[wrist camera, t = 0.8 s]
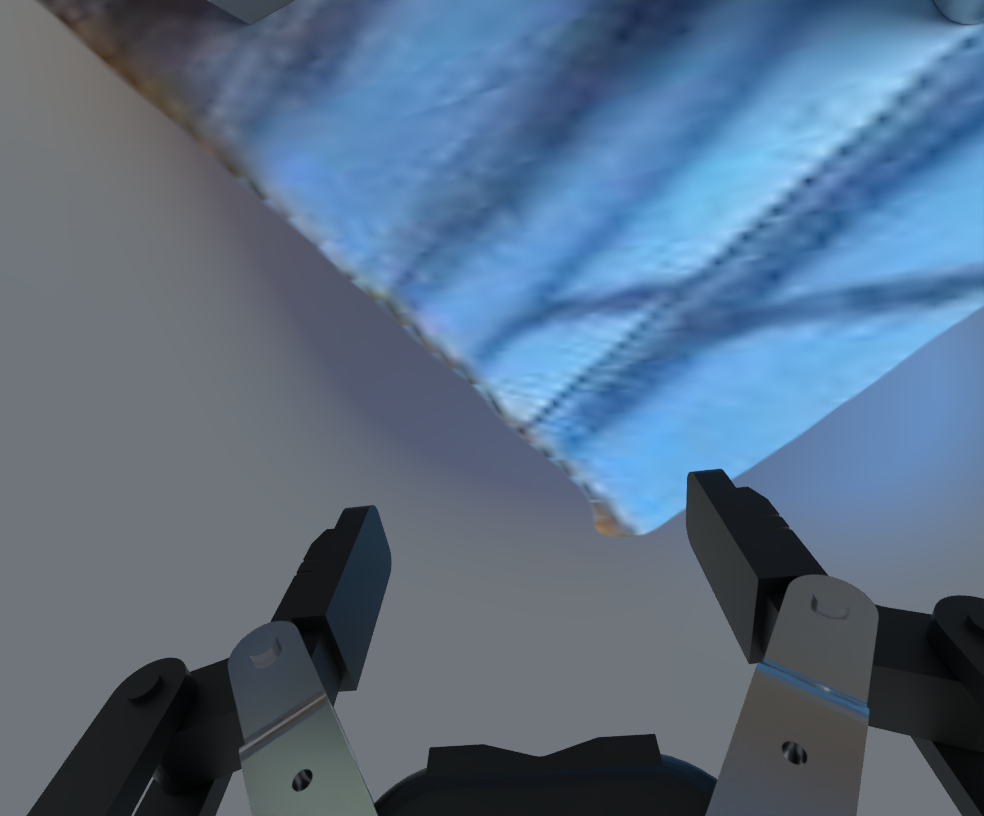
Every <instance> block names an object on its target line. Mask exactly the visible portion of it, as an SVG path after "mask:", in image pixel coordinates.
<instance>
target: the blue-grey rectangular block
mask: <svg viewBox="0 0 984 816" xmlns="http://www.w3.org/2000/svg"><path fill="white" fill-rule="evenodd" d="M207 1H209V2H211V3H212V4H214V5H216V6H218V7H219V8H221V9H223V10H225V11H226V12H228V13H230V14H232V15H233V16H235V17H237V18H239V19H240V20H242V21H244V22H246V23H247V24H249V25H251V24H253V23H255V22H257V21H258V20H260V19H262V18H264V17H265V16H267V15H269V14H271V13H273V12H274V11H276V10H278V9H280V8H282V7H283V6H285V5H287V4H289V3H291V2H292V1H294V0H207Z"/></svg>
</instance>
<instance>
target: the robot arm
mask: <svg viewBox="0 0 984 816" xmlns="http://www.w3.org/2000/svg"><path fill="white" fill-rule="evenodd" d="M934 1H935V4H936V5H937V7H938V8H939V10H940V11H941V12H942V14H944V15H945V16H946V17H948V18H949V19H951V20H952V21H955V22H958V23H961V24H980V23H984V0H934ZM686 527H687V534H688V538H689V541H690V544H691V547H692V549H693V551H694V553H695V555H696V557H697V559H698V561H699V563H700V565H701V567H702V569H703V571H704V573H705V576H706V577H707V580H708V582H709V584H710V586H711V588H712V590H713V592H714V594H715V596H716V598H717V600H718V602H719V604H720V606H721V608H722V610H723V612H724V614H725V616H726V618H727V620H728V622H729V624H730V626H731V628H732V631H733V632H734V635H735V637H736V639H737V641H738V643H739V645H740V647H741V649H742V651H743V653H744V655H745V657H746V659H747V661H748V663H749V664H753V663H758V664H757V666H756V669H755V672H754V674H753V677H752V681H751V684H750V686H749V689H748V692H747V695H746V698H745V701H744V704H743V707H742V710H741V713H740V716H739V719H738V721H737V724H736V727H735V730H734V733H733V736H732V739H731V742H730V745H729V748H728V751H727V754H726V757H725V760H724V763H723V765H722V768H721V772H720V774H719V777H718V780H717V779H716V778H714V777H713V776H711V775H709V774H708V773H706V772H705V771H703V770H702V769H700V768H698V767H696V766H694V765H692V764H690V763H687V762H685V761H682V760H679V759H676V758H674V757H671V756H667V755H663V754H660V751H659V748H658V744H657V740H656V736H655V734H646V735H630V736H613V737H598V738H595V739H592V740H589V741H586V742H583V743H581V744H578V745H575V746H572V747H570V748H566V749H564V750H561V751H558V752H555V753H552V754H549V755H547V756H543V757H542V756H541V757H538V756H532V755H528V754H523V753H519V752H515V751H510V750H506V749H501V748H497V747H493V746H488V745H483V744H481V745H464V746H448V747H431V748H430V749H429V757H428V763H427V768H425V769H422V770H420V771H418V772H416V773H414V774H412V775H410V776H408V777H406V778H405V779H403V780H402V781H400V782H399V783H397V784H396V785H394V786H393V787H392V788H391V789H389V790H388V791H387V792H386V793H385V794H383V795H382V796H381V797H380V798H379V799H378V800H377V801H376V802H375V800H374V798H373V796H372V794H371V792H370V789H369V787H368V785H367V783H366V781H365V778H364V776H363V774H362V771H361V769H360V767H359V765H358V762H357V760H356V757H355V755H354V753H353V750H352V748H351V746H350V744H349V741H348V739H347V737H346V734H345V732H344V730H343V728H342V725H341V723H340V721H339V718H338V716H337V714H336V712H335V709H334V703H335V700H336V697H337V694H338V692H339V691H340V692H341V691H354V690H357V687H358V683H359V680H360V676H361V673H362V669H363V666H364V662H365V659H366V656H367V652H368V649H369V645H370V642H371V638H372V635H373V632H374V628H375V625H376V621H377V618H378V615H379V611H380V608H381V604H382V601H383V597H384V594H385V591H386V587H387V584H388V580H389V577H390V572H391V553H390V548H389V545H388V542H387V539H386V536H385V532H384V529H383V526H382V523H381V519H380V516H379V513H378V510H377V508H376V507H375V506H374V505H370V506H361V507H352V508H345V509H344V510H343V512H342V514H341V516H340V518H339V520H338V522H337V524H336V526H335V528H334V529H327V530H325V531H324V532H323V533H322V534H321V535H320V536H319V537H318V538H317V539H316V540H315V541H314V542H313V543H312V544H311V546H310V548H309V550H308V552H307V554H306V555H305V557H304V562H303V563H301V565H300V567H299V569H298V571H297V575H296V576H294V578H293V580H292V582H291V584H290V586H289V588H288V590H287V591H286V593H285V595H284V597H283V599H282V601H281V603H280V605H279V607H278V609H277V611H276V613H275V614H274V616H273V618H272V620H271V622H270V623H267V624H264V625H262V626H260V627H258V628H256V629H255V630H253V631H252V632H250V633H249V634H247V635H246V636H245V637H244V638H243V639H242V640H241V641H240V642H239V643H238V644H237V645H236V647H235V648H234V650H233V651H232V653H231V655H230V657H229V658H227V659H225V660H222V661H219V662H216V663H214V664H211V665H208V666H205V667H203V668H200V669H197V670H194V671H192V672H189V670H188V669H187V667H186V666H185V664H184V663H183V661H181V660H180V659H177V658H165V659H160V660H157V661H154V662H152V663H149V664H147V665H146V666H144V667H142V668H140V669H139V670H137V671H136V672H134V673H133V674H132V675H130V676H129V677H128V678H127V679H125V681H123V682H122V683H121V684H120V685H119V686H118V688H117V689H116V690H115V691H114V692H113V694H112V695H111V697H110V698H109V699H108V701H107V702H106V703H105V705H104V706H103V708H102V709H101V711H100V712H99V713H98V715H97V716H96V718H95V719H94V721H93V722H92V723H91V725H90V726H89V728H88V729H87V731H86V732H85V733H84V735H83V736H82V738H81V739H80V741H79V742H78V744H77V745H76V746H75V748H74V749H73V750H72V752H71V753H70V755H69V756H68V758H67V759H66V760H65V762H64V763H63V765H62V766H61V768H60V769H59V770H58V772H57V773H56V775H55V776H54V778H53V779H52V780H51V782H50V783H49V785H48V786H47V787H46V789H45V790H44V792H43V793H42V795H41V796H40V797H39V799H38V801H37V802H36V803H35V805H34V806H33V807H32V809H31V810H30V812H29V813H28V815H27V816H131V815H132V813H133V811H134V809H135V807H136V805H137V804H138V802H139V800H140V798H141V796H142V794H143V792H144V791H145V789H146V786H147V785H148V783H149V781H150V779H151V778H152V777H153V778H154V779H153V781H152V783H151V785H150V787H149V789H148V791H147V792H146V794H145V796H144V798H143V800H142V802H141V804H140V805H139V807H138V809H137V811H136V813H135V815H134V816H215V815H216V812H217V810H218V808H219V805H220V803H221V801H222V798H223V796H224V793H225V791H226V788H227V786H228V783H229V781H230V778H231V776H232V774H233V772H235V771H237V770H240V769H242V772H243V777H244V781H245V786H246V790H247V795H248V799H249V805H250V809H251V814H252V816H856V813H857V806H858V798H859V791H860V783H861V775H862V768H863V760H864V752H865V744H866V736H867V729H868V726H871V727H875V728H880V729H884V730H888V731H892V732H897V733H901V734H905V735H910V736H911V738H912V739H913V741H914V742H915V744H916V745H917V747H918V748H919V750H920V751H921V753H922V755H923V756H924V758H925V759H926V761H927V762H928V764H929V765H930V767H931V768H932V770H933V771H934V773H935V775H936V776H937V778H938V779H939V781H940V782H941V784H942V785H943V787H944V788H945V790H946V791H947V793H948V794H949V796H950V798H951V799H952V801H953V802H954V804H955V805H956V807H957V808H958V810H959V811H960V813H961V815H962V816H984V599H982V598H977V597H972V596H959V595H958V596H950V597H946V598H944V599H941V600H940V601H939V602H938V603H937V604H936V606H935V608H934V611H933V614H932V615H931V614H924V613H919V612H912V611H906V610H900V609H893V608H888V607H883V606H879V605H875V604H874V603H873V602H872V601H871V599H870V598H869V597H868V596H867V595H866V594H865V593H863V592H862V591H861V590H859V589H858V588H856V587H855V586H853V585H851V584H849V583H847V582H845V581H843V580H840V579H837V578H834V577H830V576H828V575H827V574H826V572H825V571H824V570H823V568H822V567H821V566H820V565H819V563H818V562H817V561H816V560H815V558H814V557H813V556H812V555H811V553H810V552H809V551H808V550H807V548H806V547H805V546H804V545H803V543H802V542H801V541H800V539H799V538H798V537H797V536H796V534H795V533H794V532H793V531H792V530H790V529H789V526H788V524H787V523H786V522H785V521H784V519H783V518H782V517H780V516H779V513H778V512H777V511H776V509H775V508H774V507H773V506H772V504H771V503H770V502H769V500H768V499H766V498H765V497H764V496H762V495H760V494H759V493H757V492H756V491H754V490H752V489H751V488H749V487H741V488H736V487H735V486H734V484H733V483H732V481H731V480H730V479H729V477H728V476H727V475H726V473H725V472H724V471H723V470H722V469H714V470H704V471H695V472H689V474H688V477H687V503H686Z"/></svg>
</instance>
